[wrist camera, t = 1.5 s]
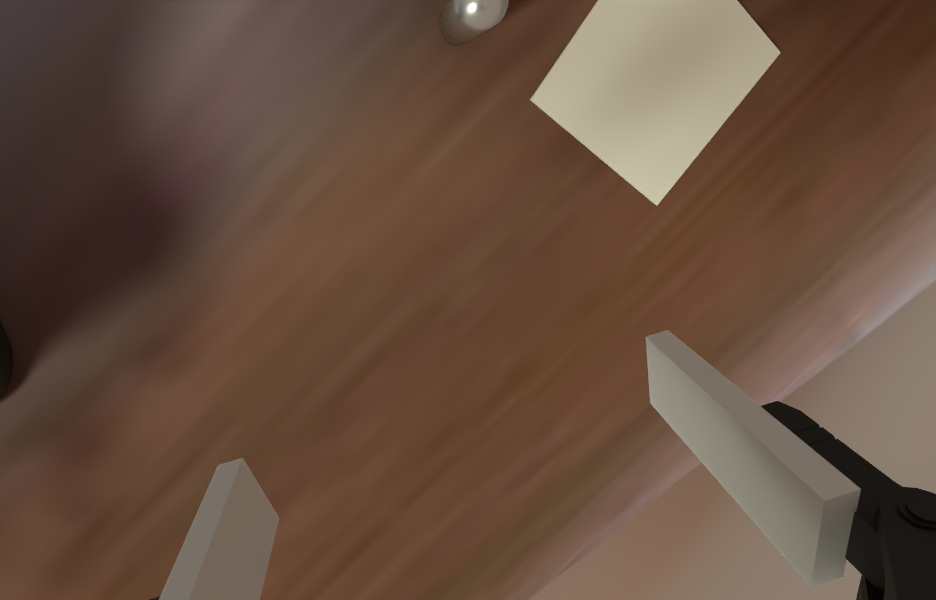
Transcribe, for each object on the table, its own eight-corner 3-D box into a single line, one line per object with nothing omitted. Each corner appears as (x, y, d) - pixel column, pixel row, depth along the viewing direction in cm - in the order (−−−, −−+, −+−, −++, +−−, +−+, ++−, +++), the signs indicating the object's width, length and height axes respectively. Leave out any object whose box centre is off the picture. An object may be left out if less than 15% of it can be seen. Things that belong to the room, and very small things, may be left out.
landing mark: (529, 99, 34) (530, 99, 33) (659, -90, 30) (660, -92, 30) (655, 205, 39) (656, 205, 38) (778, 52, 35) (780, 52, 35)
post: (432, 28, 31) (449, 5, 23) (453, -7, 30) (478, -44, 22) (462, 53, 32) (489, 39, 24) (483, 19, 31) (518, -7, 23)
